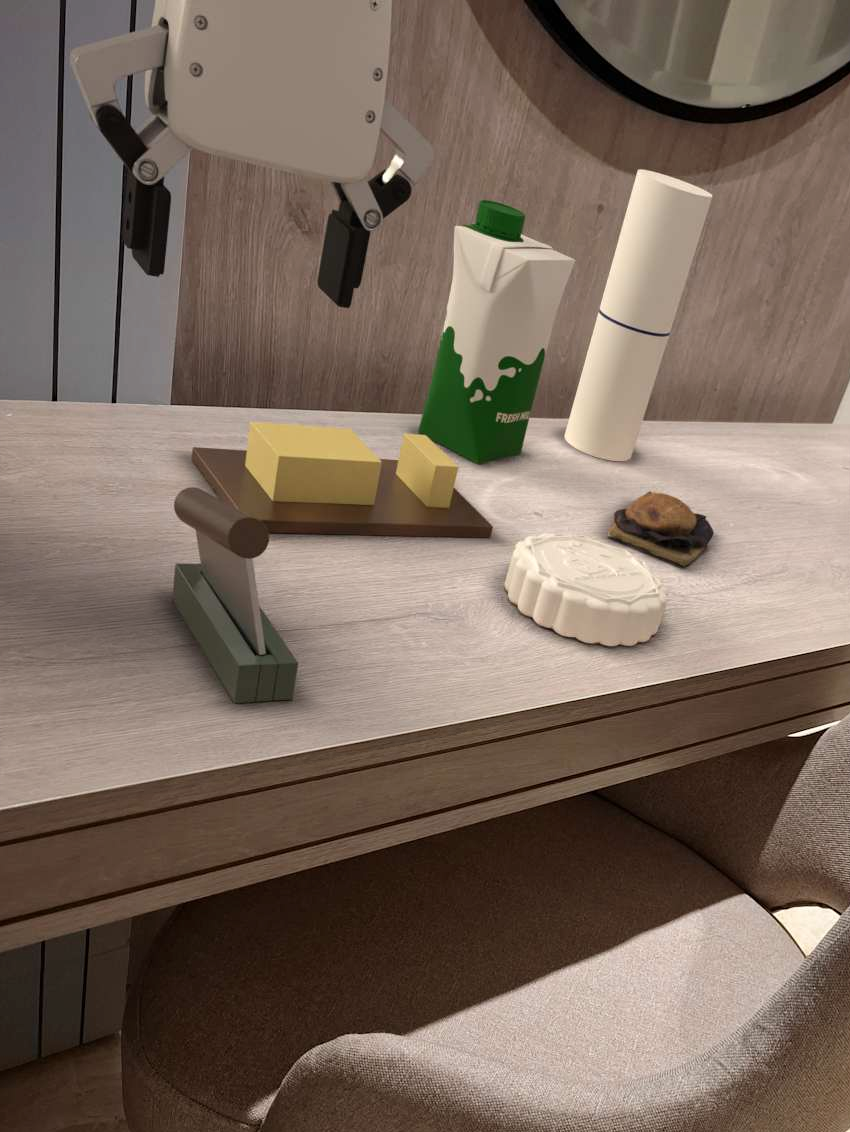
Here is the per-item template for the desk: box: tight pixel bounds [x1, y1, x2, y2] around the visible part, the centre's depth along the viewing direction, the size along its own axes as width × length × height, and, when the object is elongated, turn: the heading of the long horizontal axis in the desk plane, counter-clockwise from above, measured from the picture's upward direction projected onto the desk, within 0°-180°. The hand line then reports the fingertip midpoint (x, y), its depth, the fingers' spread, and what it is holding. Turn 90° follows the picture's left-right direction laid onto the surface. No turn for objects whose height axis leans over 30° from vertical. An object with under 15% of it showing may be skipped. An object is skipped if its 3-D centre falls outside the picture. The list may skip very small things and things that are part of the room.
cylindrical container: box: [563, 169, 713, 462], centre depth 114 cm, size 7×7×25 cm
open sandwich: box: [607, 491, 714, 567], centre depth 105 cm, size 11×8×4 cm
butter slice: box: [396, 432, 459, 508], centre depth 94 cm, size 2×6×4 cm, turn 33°
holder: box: [171, 562, 299, 704], centre depth 70 cm, size 3×12×2 cm, turn 33°
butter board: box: [191, 446, 494, 538], centre depth 92 cm, size 20×12×1 cm, turn 123°
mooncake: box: [504, 531, 669, 647], centre depth 88 cm, size 12×12×4 cm
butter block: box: [245, 421, 382, 505], centre depth 89 cm, size 8×6×4 cm
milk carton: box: [417, 199, 576, 465], centre depth 105 cm, size 9×9×20 cm
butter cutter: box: [173, 486, 270, 655], centre depth 67 cm, size 2×10×8 cm, turn 34°
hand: (244, 283), depth 60 cm, fingers open, 9 cm apart
